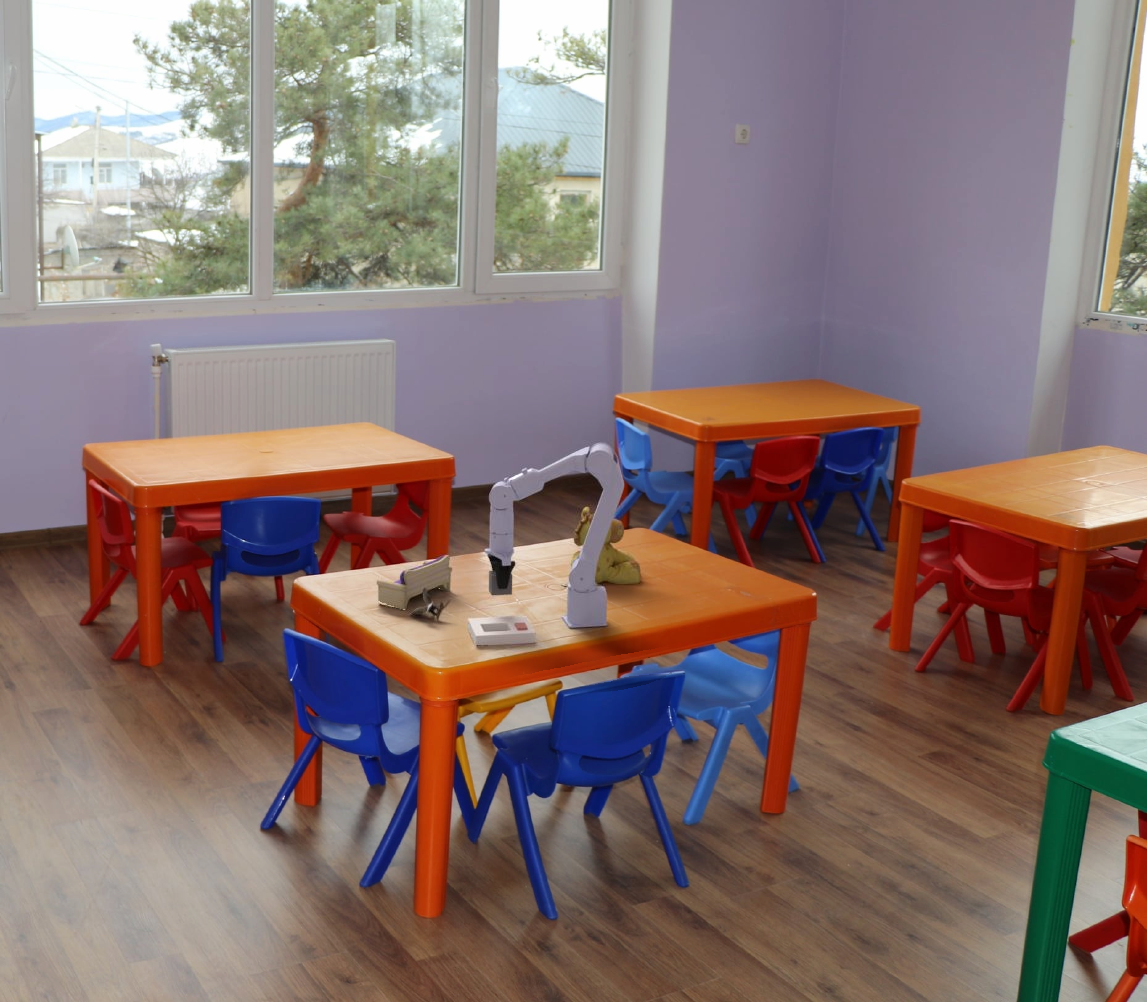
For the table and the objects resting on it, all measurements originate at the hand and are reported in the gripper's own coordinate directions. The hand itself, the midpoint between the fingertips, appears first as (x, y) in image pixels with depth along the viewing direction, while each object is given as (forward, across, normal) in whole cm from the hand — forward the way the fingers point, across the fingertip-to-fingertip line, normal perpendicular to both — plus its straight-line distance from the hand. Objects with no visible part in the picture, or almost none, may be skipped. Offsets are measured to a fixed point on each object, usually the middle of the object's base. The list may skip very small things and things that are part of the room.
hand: (500, 585), depth 310 cm
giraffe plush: (+9, -28, +33) cm, 44 cm away
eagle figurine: (+9, -4, -17) cm, 20 cm away
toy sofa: (+9, -19, -19) cm, 28 cm away
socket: (+8, +12, -2) cm, 15 cm away
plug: (+2, 0, 0) cm, 2 cm away
